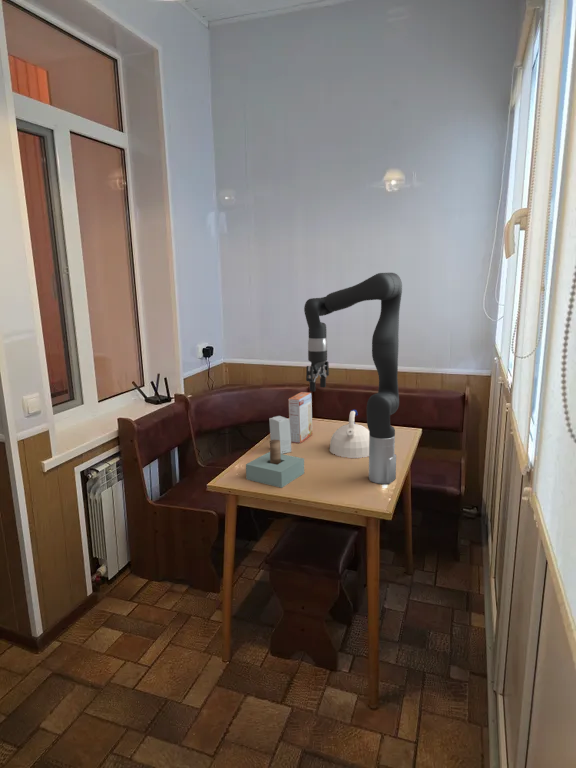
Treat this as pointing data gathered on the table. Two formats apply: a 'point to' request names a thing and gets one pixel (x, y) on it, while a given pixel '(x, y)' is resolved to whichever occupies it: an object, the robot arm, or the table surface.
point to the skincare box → (281, 432)
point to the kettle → (350, 439)
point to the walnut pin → (275, 452)
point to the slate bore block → (275, 470)
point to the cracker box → (300, 417)
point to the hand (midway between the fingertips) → (317, 389)
